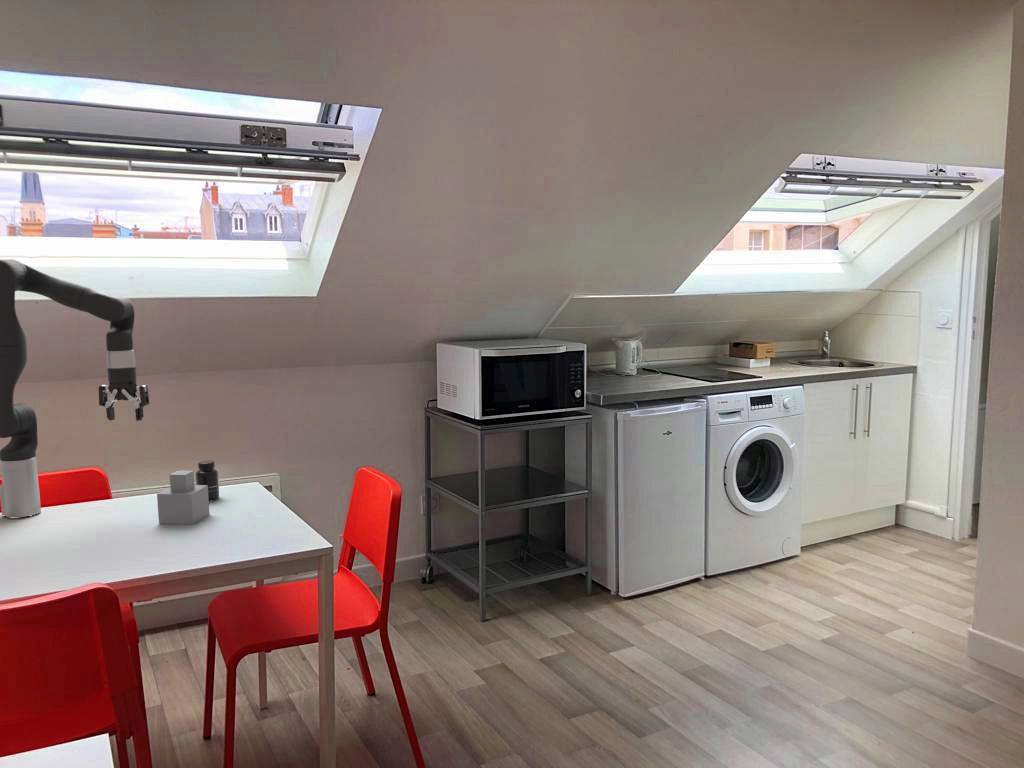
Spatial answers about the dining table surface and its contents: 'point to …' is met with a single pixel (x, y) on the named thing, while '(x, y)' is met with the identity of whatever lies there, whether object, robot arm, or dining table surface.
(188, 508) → the stepped grey block
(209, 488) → the supplement bottle
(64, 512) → the dining table surface
